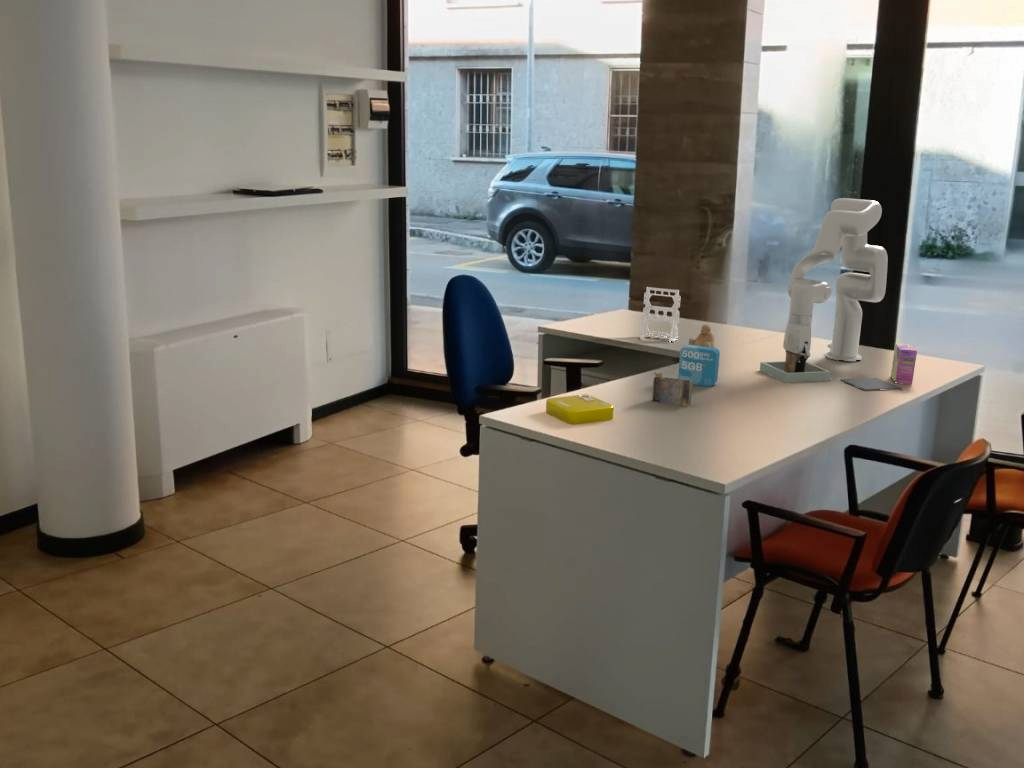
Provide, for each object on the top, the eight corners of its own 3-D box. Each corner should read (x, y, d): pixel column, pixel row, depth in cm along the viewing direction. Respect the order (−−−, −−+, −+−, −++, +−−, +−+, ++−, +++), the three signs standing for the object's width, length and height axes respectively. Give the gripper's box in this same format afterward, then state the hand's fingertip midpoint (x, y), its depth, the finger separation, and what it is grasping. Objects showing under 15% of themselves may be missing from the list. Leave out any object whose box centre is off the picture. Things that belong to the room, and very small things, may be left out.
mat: (840, 380, 354) (840, 379, 354) (875, 379, 358) (876, 377, 358) (865, 390, 341) (865, 389, 341) (901, 389, 345) (902, 387, 345)
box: (912, 384, 352) (917, 350, 350) (894, 383, 354) (899, 349, 351) (907, 377, 362) (912, 344, 359) (890, 376, 363) (894, 342, 361)
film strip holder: (682, 337, 416) (686, 287, 411) (672, 344, 404) (676, 292, 399) (647, 333, 421) (650, 284, 417) (636, 339, 409) (640, 288, 404)
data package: (677, 382, 344) (680, 346, 341) (681, 379, 348) (684, 343, 345) (713, 387, 339) (716, 350, 336) (717, 384, 343) (720, 348, 340)
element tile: (543, 413, 304) (543, 397, 302) (586, 407, 311) (587, 392, 310) (571, 426, 291) (572, 410, 290) (615, 420, 298) (616, 404, 297)
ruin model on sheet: (651, 402, 319) (653, 371, 317) (653, 400, 322) (656, 369, 319) (688, 407, 315) (691, 376, 313) (690, 405, 318) (693, 374, 315)
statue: (731, 331, 377) (713, 325, 371) (720, 368, 378) (702, 363, 372) (706, 325, 387) (688, 319, 380) (695, 362, 388) (677, 357, 381)
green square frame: (759, 370, 365) (760, 362, 364) (802, 368, 370) (803, 360, 369) (785, 382, 349) (786, 373, 348) (830, 380, 354) (831, 371, 353)
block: (784, 374, 361) (786, 351, 359) (796, 373, 362) (799, 350, 360) (791, 377, 356) (794, 354, 354) (804, 376, 358) (807, 354, 356)
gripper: (777, 314, 361) (772, 366, 366) (804, 324, 346) (798, 378, 350) (796, 314, 363) (791, 365, 368) (824, 323, 348) (818, 377, 352)
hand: (794, 371), depth 359 cm, fingers closed on block, 5 cm apart
